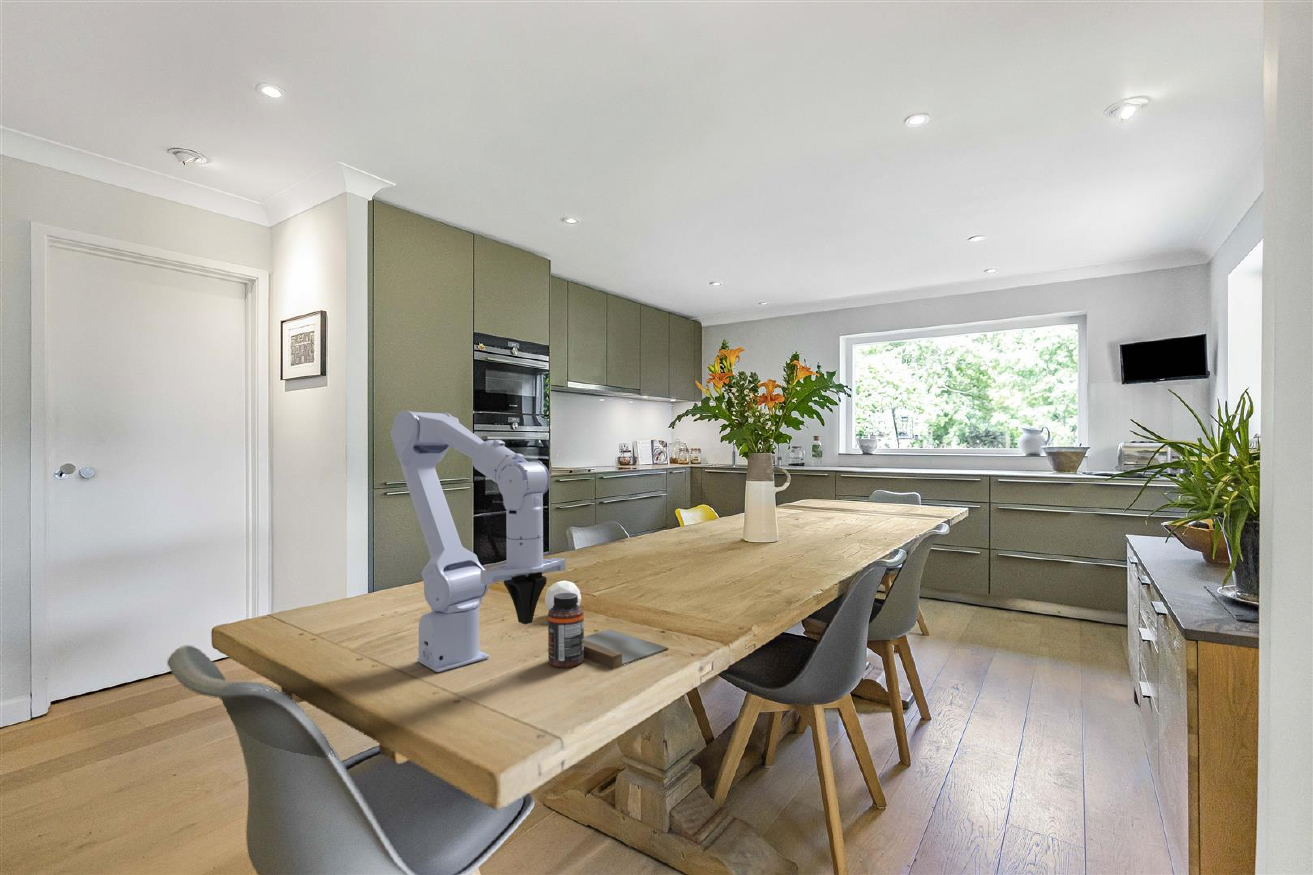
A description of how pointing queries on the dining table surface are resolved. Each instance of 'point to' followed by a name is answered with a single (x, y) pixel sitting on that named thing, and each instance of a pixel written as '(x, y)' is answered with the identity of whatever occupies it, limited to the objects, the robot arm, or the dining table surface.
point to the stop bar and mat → (617, 648)
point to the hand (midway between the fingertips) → (525, 622)
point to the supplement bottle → (565, 631)
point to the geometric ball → (560, 588)
